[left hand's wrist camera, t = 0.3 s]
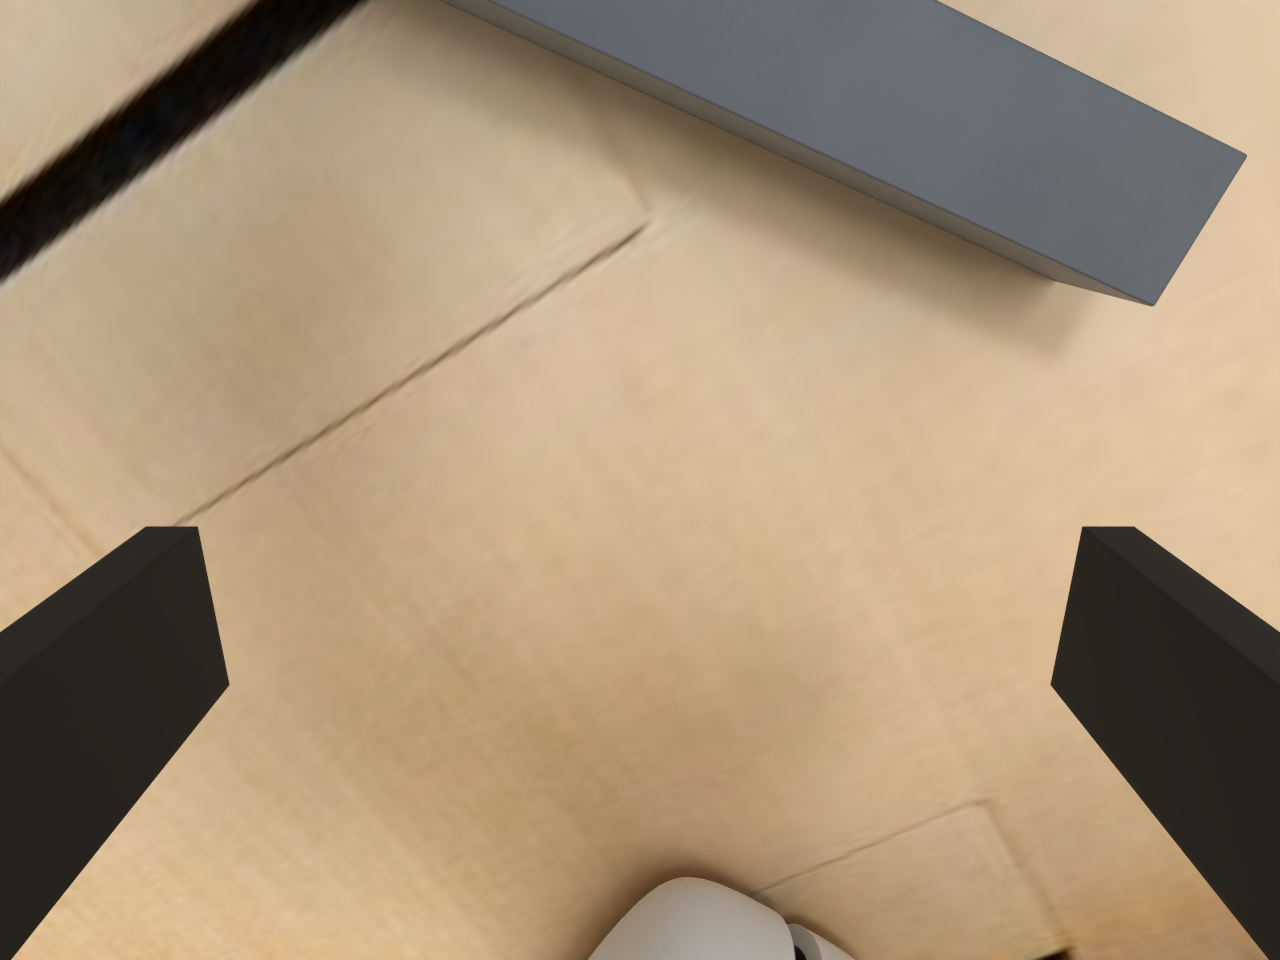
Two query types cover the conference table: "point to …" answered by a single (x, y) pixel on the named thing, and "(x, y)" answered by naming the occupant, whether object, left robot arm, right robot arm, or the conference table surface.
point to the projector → (709, 928)
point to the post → (918, 121)
